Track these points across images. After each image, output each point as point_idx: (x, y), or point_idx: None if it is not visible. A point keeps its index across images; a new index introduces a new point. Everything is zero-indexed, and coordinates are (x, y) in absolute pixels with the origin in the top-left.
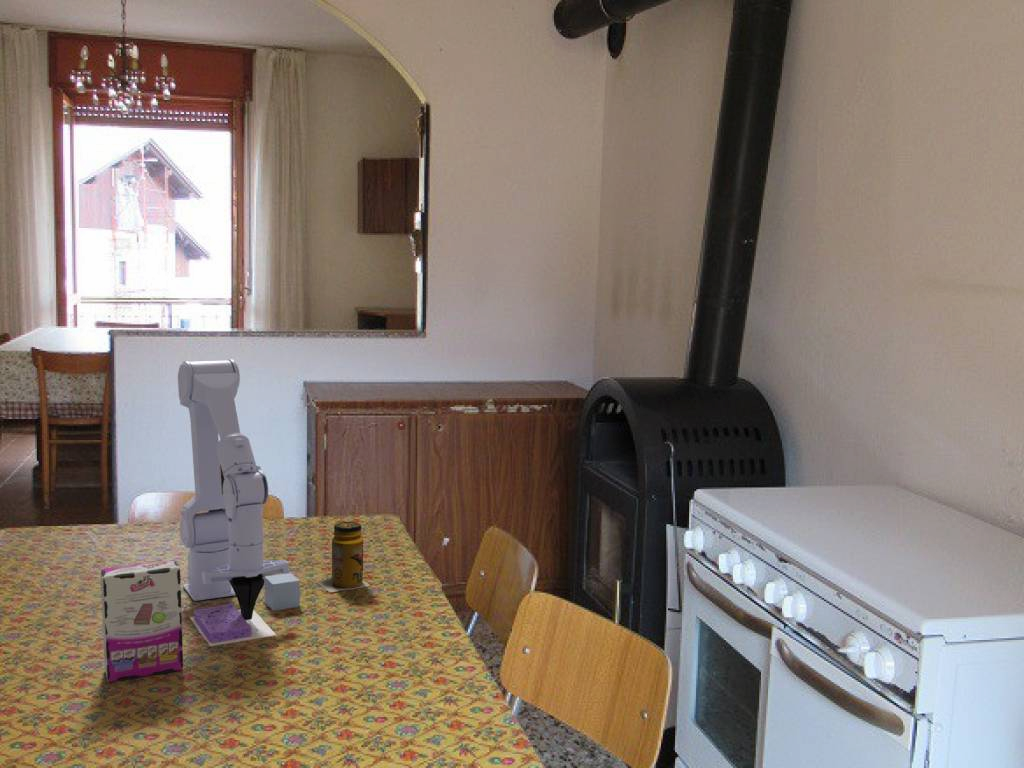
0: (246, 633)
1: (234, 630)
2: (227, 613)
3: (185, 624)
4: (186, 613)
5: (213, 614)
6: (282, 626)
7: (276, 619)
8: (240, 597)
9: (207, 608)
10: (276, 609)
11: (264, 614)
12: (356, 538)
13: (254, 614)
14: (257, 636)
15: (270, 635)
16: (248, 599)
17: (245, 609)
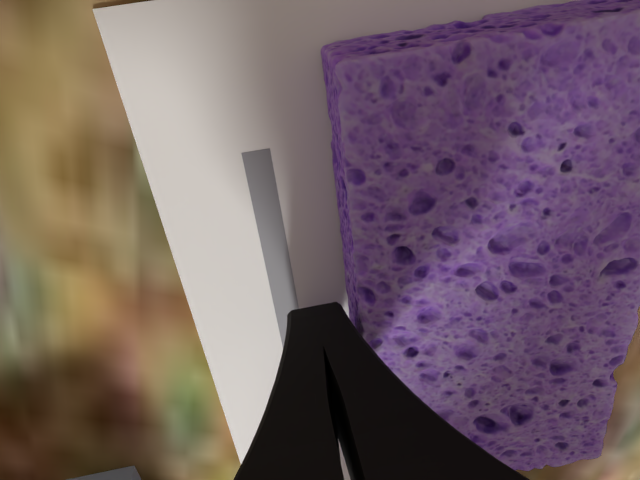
0: (373, 39)
1: (500, 34)
2: (444, 388)
3: (625, 362)
4: (560, 476)
5: (530, 385)
6: (50, 210)
7: (106, 345)
8: (453, 431)
9: (526, 465)
10: (110, 473)
11: (187, 425)
12: None
13: (248, 429)
14: (271, 25)
15: (151, 12)
16: (351, 419)
17: (356, 348)
